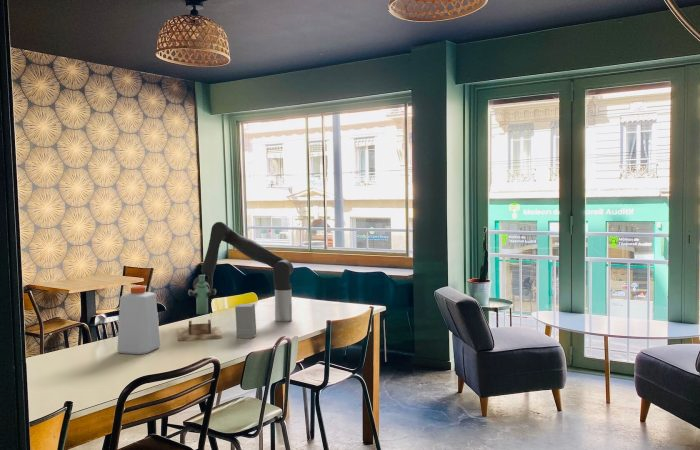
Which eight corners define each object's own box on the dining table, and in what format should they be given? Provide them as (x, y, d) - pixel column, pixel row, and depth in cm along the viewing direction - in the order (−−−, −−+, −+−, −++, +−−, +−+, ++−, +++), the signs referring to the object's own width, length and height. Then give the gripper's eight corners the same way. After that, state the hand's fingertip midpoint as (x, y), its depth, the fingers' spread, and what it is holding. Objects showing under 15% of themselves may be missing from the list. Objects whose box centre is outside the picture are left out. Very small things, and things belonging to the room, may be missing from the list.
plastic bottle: (144, 355, 232) (143, 290, 231) (113, 353, 235) (111, 289, 234) (163, 346, 247) (162, 285, 246) (133, 344, 250) (132, 284, 249)
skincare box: (256, 335, 267) (256, 303, 267) (252, 338, 260) (252, 306, 260) (239, 334, 268) (239, 303, 268) (235, 338, 261) (234, 305, 260)
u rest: (220, 329, 279) (220, 317, 279) (221, 338, 262) (221, 324, 262) (179, 332, 274) (179, 319, 274) (178, 340, 257) (177, 327, 256)
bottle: (208, 311, 274) (208, 274, 273) (206, 314, 269) (206, 275, 268) (197, 311, 274) (197, 274, 273) (195, 314, 268) (195, 275, 267)
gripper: (188, 282, 283) (186, 288, 266) (216, 281, 286) (216, 286, 270) (188, 297, 283) (186, 303, 267) (216, 295, 286) (217, 301, 270)
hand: (202, 294), depth 268 cm, fingers closed on bottle, 5 cm apart
